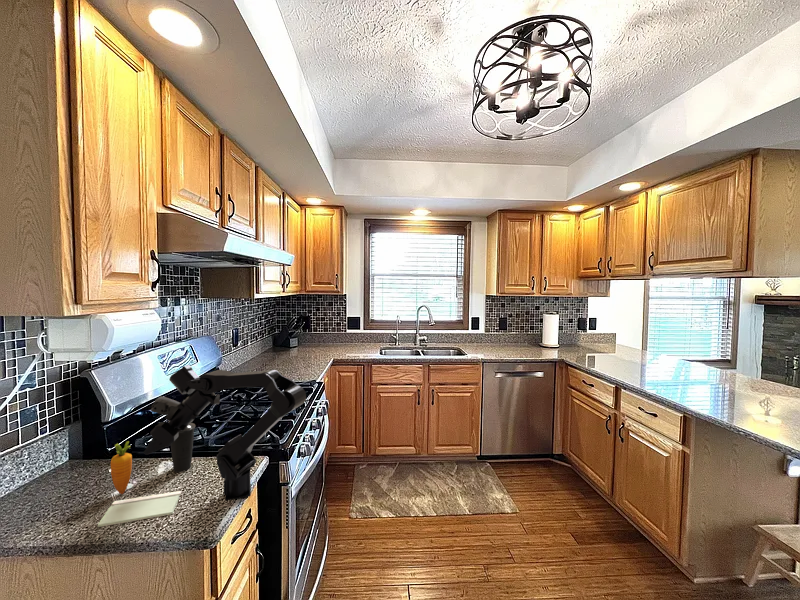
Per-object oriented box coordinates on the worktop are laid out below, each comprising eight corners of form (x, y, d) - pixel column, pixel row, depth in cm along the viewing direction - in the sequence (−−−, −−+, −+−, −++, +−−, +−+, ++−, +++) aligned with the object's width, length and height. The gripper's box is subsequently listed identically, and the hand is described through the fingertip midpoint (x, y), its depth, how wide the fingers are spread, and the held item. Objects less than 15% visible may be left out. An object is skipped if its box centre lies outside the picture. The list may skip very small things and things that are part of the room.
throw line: (181, 492, 106) (181, 490, 106) (180, 494, 105) (180, 493, 105) (114, 502, 101) (114, 501, 101) (112, 505, 99) (112, 504, 99)
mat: (179, 497, 104) (179, 495, 104) (172, 514, 96) (172, 511, 96) (110, 508, 98) (110, 506, 98) (97, 527, 91) (97, 524, 91)
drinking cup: (163, 470, 118) (162, 409, 117) (186, 460, 125) (185, 402, 124) (177, 476, 115) (177, 413, 114) (200, 466, 121) (200, 406, 121)
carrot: (129, 487, 109) (128, 437, 108) (135, 493, 105) (134, 441, 105) (108, 494, 105) (107, 442, 104) (113, 501, 102) (112, 447, 101)
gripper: (182, 379, 116) (143, 417, 113) (157, 396, 97) (111, 442, 95) (210, 402, 118) (173, 440, 116) (191, 423, 99) (146, 468, 97)
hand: (152, 446), depth 106 cm, fingers open, 9 cm apart
